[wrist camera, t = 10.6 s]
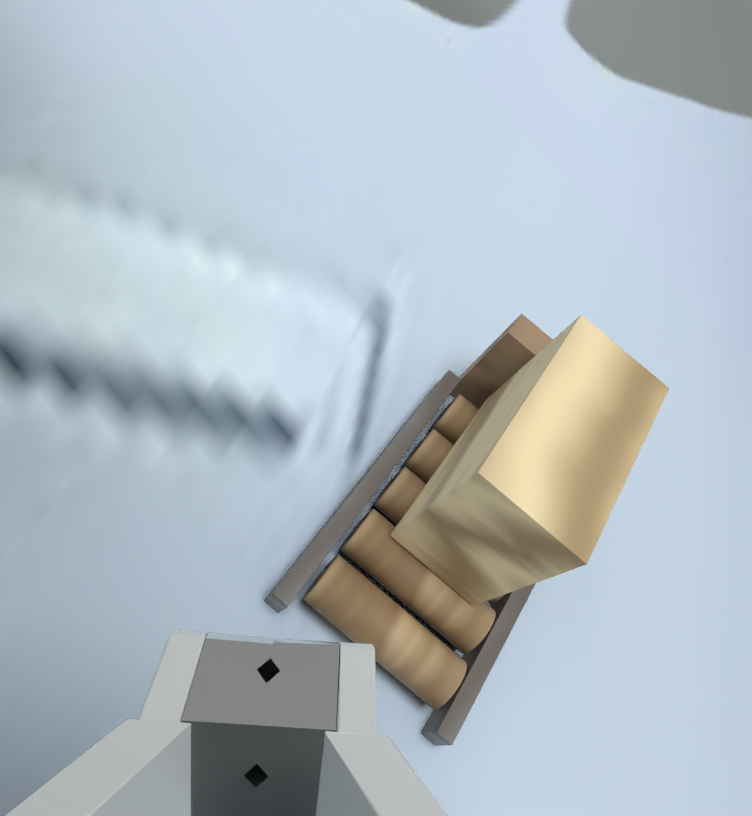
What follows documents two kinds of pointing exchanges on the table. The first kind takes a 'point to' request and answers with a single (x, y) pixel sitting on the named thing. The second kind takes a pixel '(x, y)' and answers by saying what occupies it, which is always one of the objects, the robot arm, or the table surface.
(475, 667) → the roller bed
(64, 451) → the table surface
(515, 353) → the stop
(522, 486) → the block
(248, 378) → the table surface
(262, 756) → the robot arm
